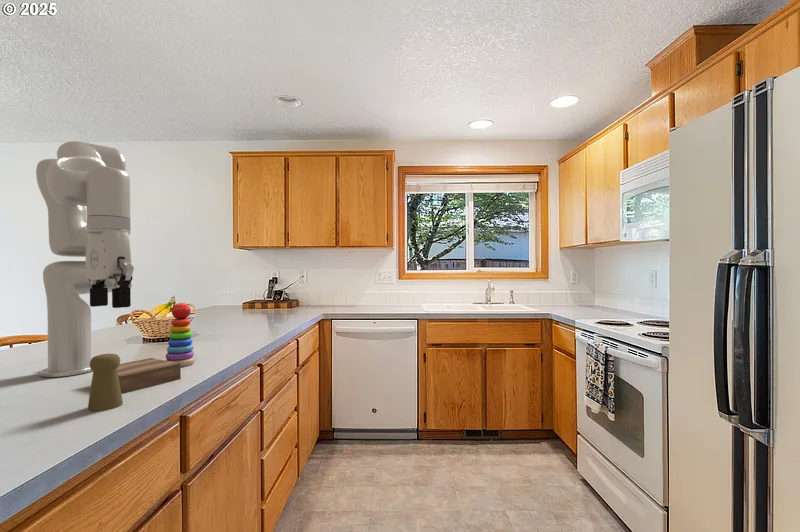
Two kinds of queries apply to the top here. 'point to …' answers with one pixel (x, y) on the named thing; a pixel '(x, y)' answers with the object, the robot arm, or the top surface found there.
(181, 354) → the stacking toy
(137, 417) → the top surface
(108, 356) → the cork
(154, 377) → the walnut base brick
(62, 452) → the top surface
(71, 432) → the top surface
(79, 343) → the robot arm
